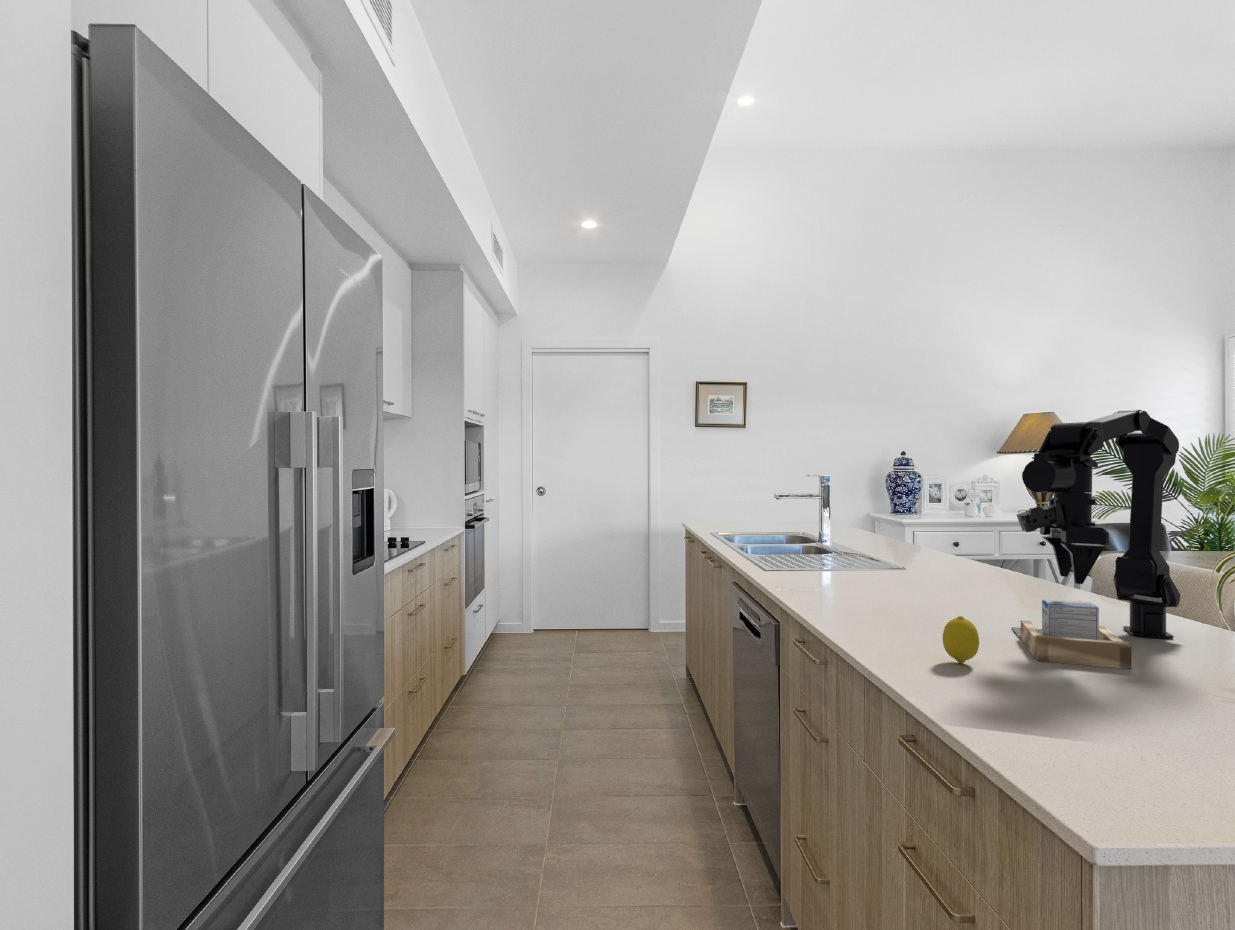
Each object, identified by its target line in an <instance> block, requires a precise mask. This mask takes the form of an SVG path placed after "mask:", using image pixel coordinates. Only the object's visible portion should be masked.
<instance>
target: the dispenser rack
mask: <svg viewBox="0 0 1235 930" xmlns="http://www.w3.org/2000/svg"><path fill="white" fill-rule="evenodd" d="M1020 628H1021V638H1020V640H1021V639H1022V640H1021V641H1022V642H1023V644H1024V643H1025V644H1024V645H1025V647H1026V648H1027V649H1028V651H1029V652H1030V653H1031V654H1032V656H1033V657H1034V658H1035V660H1036V661H1038V662H1049V663H1061V664H1068V665H1069V664H1070V665H1071V664H1072V665H1083V666H1091V667H1092V666H1093V667H1104V668H1107V667H1108V668H1115V669H1116V668H1118V669H1129V670H1130V669H1131V670H1132V668H1133V667H1132V666H1133V665H1132V660H1133V659H1132V657H1133V656H1132V647H1133V646H1132V643H1130V642H1129V641H1124V640H1123V639H1121V638H1120V637H1119V636H1117V635H1116V634H1114V633H1113V632H1112V631H1111V630H1109V629H1108V628H1107V627H1106V626H1105V625H1099V640H1094V639H1081V638H1067V637H1054V636H1043V635H1042V634H1041V633H1040V631H1039V630H1038V629H1039V628H1037V626H1035V625H1034V623H1033V622H1032V621H1031V620H1023V619H1021V620H1020Z"/></svg>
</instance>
